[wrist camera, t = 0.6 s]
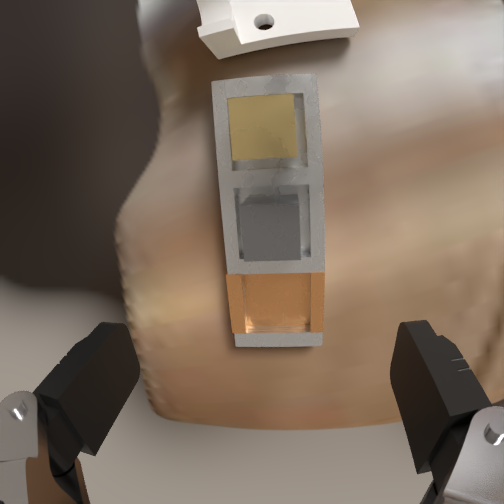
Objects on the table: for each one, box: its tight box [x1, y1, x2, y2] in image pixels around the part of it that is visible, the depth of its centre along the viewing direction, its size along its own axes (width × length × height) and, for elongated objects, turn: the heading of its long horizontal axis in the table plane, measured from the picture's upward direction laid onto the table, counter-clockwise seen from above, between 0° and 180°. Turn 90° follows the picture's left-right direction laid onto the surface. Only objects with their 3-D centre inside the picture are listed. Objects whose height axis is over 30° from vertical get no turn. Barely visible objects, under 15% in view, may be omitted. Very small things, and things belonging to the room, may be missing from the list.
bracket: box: [196, 0, 360, 60], centre depth 20 cm, size 13×7×8 cm, turn 102°
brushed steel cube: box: [240, 194, 301, 262], centre depth 26 cm, size 4×4×5 cm
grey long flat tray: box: [211, 74, 325, 347], centre depth 29 cm, size 26×9×3 cm, turn 4°
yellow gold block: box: [228, 94, 297, 161], centre depth 23 cm, size 4×4×6 cm
